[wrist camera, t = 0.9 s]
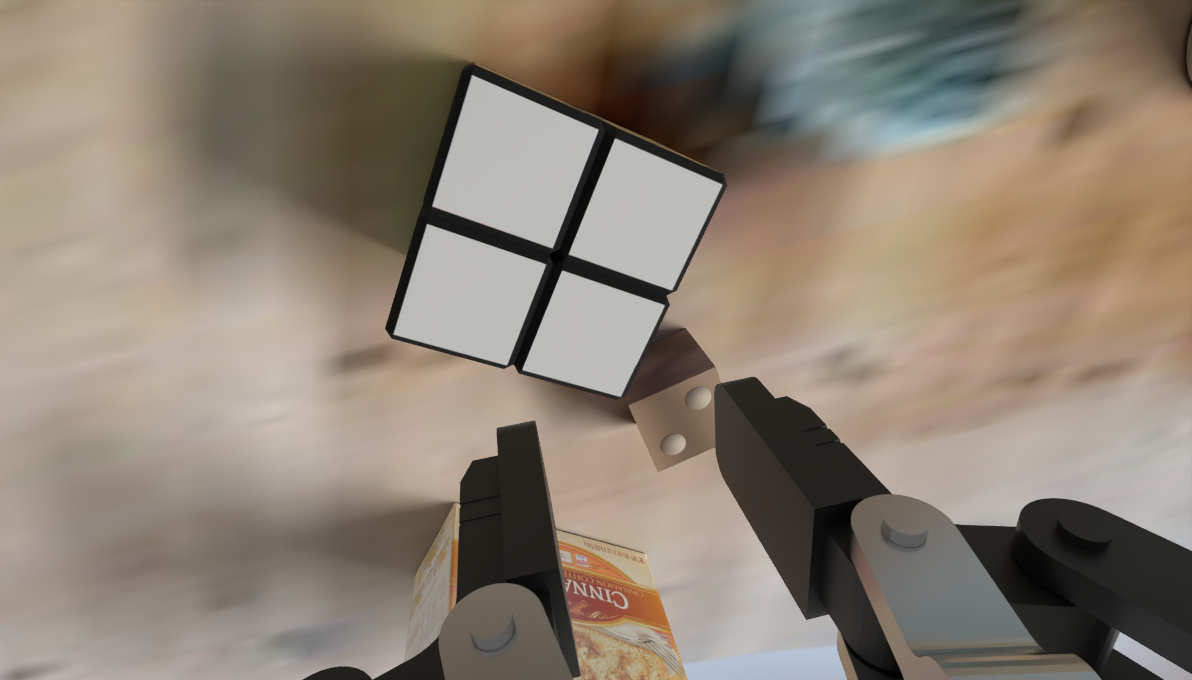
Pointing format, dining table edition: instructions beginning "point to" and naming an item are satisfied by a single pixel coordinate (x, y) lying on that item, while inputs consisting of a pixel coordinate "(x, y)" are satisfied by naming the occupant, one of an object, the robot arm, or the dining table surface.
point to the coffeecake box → (596, 601)
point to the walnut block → (674, 400)
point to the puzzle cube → (548, 238)
